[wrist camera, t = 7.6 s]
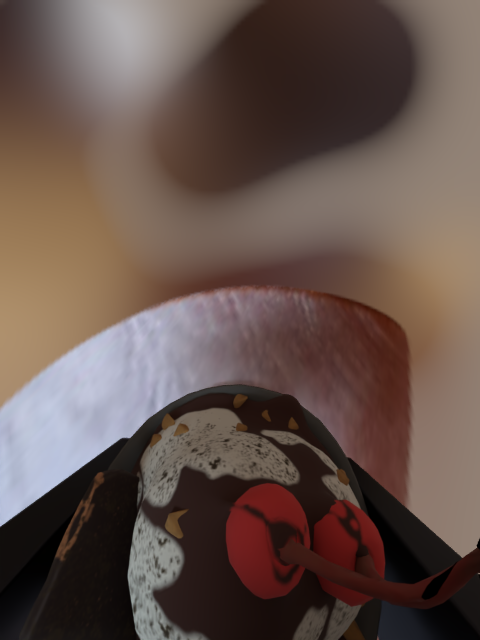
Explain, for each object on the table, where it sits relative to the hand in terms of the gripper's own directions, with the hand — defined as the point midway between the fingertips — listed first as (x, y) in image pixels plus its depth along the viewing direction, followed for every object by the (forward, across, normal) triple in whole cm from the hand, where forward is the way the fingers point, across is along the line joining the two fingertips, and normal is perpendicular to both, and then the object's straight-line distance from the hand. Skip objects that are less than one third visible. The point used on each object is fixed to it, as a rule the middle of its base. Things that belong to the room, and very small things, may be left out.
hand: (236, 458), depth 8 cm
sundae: (+5, 0, +7) cm, 8 cm away
